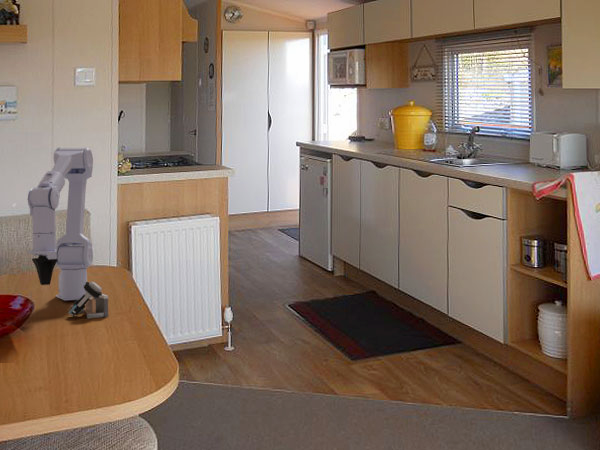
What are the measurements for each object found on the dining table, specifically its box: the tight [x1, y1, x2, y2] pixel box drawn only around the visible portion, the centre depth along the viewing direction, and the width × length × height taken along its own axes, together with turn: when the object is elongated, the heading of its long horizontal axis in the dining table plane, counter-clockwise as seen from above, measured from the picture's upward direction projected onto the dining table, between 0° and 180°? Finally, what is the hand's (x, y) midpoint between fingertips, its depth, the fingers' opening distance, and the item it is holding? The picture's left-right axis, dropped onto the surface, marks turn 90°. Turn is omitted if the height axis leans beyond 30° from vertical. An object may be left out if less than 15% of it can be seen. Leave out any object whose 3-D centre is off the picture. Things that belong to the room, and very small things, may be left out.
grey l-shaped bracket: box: [79, 293, 109, 320], centre depth 194 cm, size 9×6×6 cm, turn 35°
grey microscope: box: [68, 280, 103, 318], centre depth 191 cm, size 7×5×10 cm
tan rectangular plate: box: [85, 297, 97, 315], centre depth 193 cm, size 6×1×4 cm, turn 35°
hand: (45, 284), depth 187 cm, fingers closed
